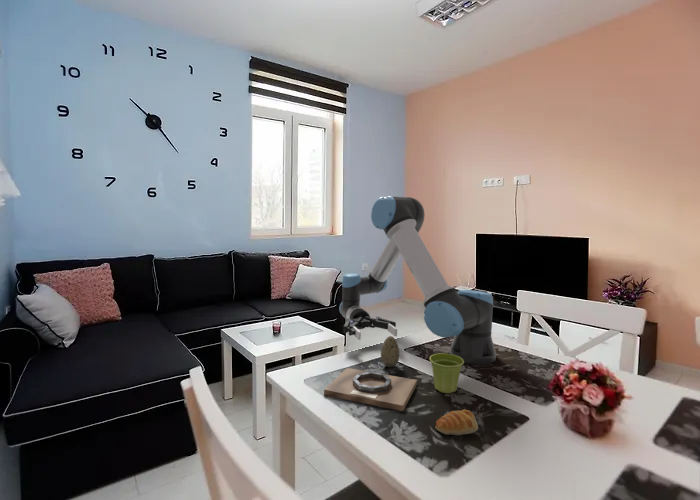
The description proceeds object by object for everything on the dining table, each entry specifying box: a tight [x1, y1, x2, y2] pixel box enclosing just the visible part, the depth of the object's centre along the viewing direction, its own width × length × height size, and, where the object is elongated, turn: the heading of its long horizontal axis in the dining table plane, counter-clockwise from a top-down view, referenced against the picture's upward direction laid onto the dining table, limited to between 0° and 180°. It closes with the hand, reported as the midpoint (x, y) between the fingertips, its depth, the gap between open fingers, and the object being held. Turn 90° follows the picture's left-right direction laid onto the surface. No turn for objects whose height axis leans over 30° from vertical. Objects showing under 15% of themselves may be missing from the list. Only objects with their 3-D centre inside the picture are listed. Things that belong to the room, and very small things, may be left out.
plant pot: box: [429, 352, 465, 394], centre depth 109 cm, size 9×9×9 cm
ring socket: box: [353, 371, 391, 394], centre depth 108 cm, size 10×10×2 cm
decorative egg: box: [380, 335, 400, 368], centre depth 125 cm, size 6×6×10 cm
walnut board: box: [323, 367, 418, 412], centre depth 108 cm, size 22×16×2 cm
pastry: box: [435, 408, 479, 436], centre depth 90 cm, size 9×7×4 cm
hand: (378, 334), depth 134 cm, fingers open, 13 cm apart
